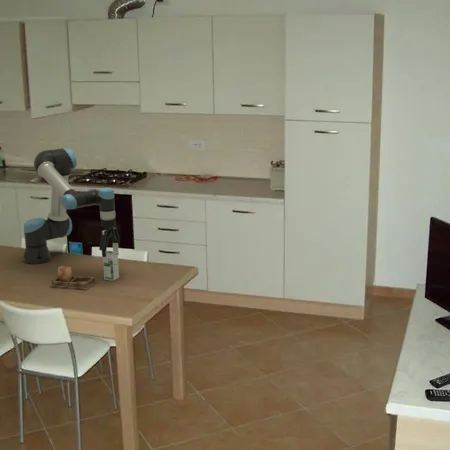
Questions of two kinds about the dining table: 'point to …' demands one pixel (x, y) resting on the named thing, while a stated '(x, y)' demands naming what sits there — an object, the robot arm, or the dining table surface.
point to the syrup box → (111, 266)
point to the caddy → (71, 280)
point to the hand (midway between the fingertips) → (110, 258)
